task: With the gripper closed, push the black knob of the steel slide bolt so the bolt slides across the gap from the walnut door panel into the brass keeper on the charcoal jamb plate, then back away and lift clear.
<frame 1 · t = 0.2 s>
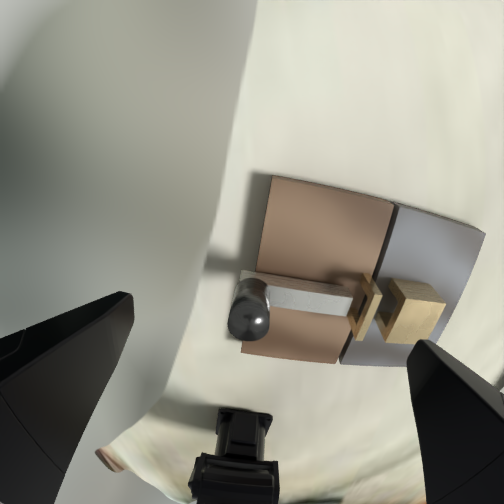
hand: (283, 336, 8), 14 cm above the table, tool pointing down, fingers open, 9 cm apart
steel bolt: (295, 308, 18), point 4 cm above the table, slide at 0.0 cm
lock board: (372, 289, 22), on the table
brass keeper: (396, 310, 20), on the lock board, point 3 cm above the table
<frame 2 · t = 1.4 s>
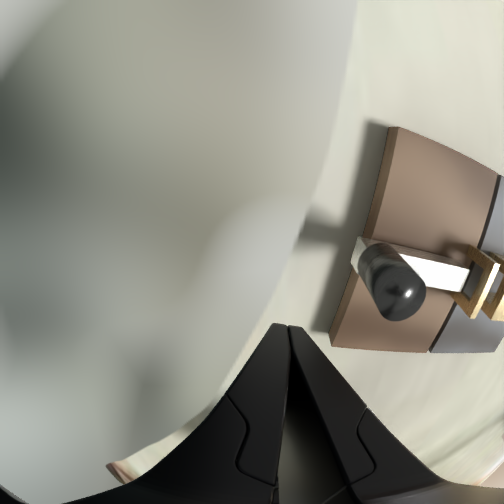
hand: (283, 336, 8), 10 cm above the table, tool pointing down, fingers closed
steel bolt: (427, 280, 13), point 4 cm above the table, slide at 0.0 cm
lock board: (467, 265, 17), on the table
brass keeper: (496, 286, 15), on the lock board, point 3 cm above the table
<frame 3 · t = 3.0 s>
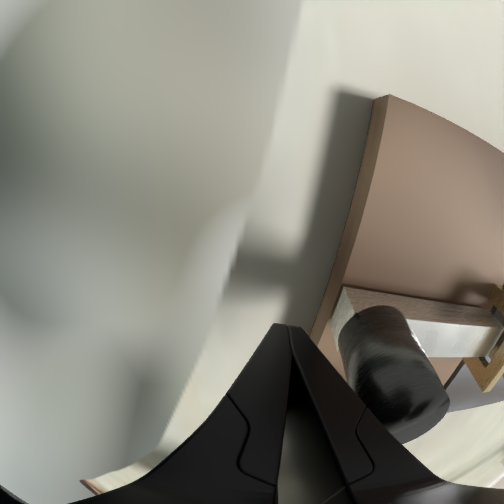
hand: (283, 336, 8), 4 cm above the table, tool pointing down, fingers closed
steel bolt: (448, 358, 7), point 4 cm above the table, slide at 1.0 cm, touching gripper
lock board: (484, 307, 12), on the table
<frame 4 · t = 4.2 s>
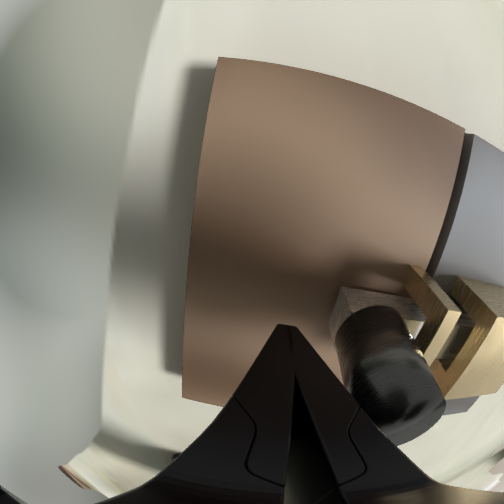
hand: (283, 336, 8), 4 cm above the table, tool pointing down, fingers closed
steel bolt: (446, 359, 7), point 4 cm above the table, slide at 6.4 cm, touching gripper
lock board: (416, 297, 11), on the table
brass keeper: (463, 338, 9), on the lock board, point 3 cm above the table
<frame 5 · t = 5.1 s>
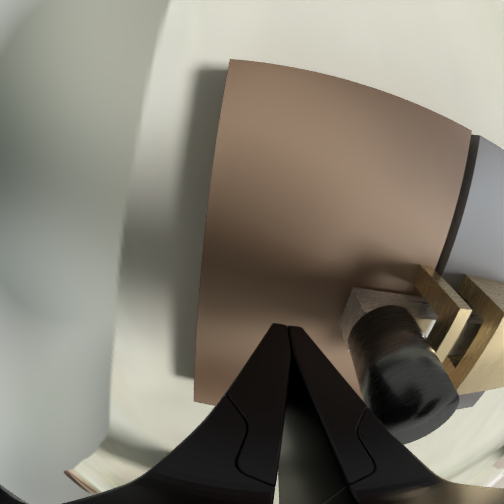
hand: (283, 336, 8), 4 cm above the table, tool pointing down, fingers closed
steel bolt: (455, 356, 7), point 4 cm above the table, slide at 6.3 cm
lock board: (424, 295, 11), on the table
brass keeper: (472, 335, 9), on the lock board, point 3 cm above the table
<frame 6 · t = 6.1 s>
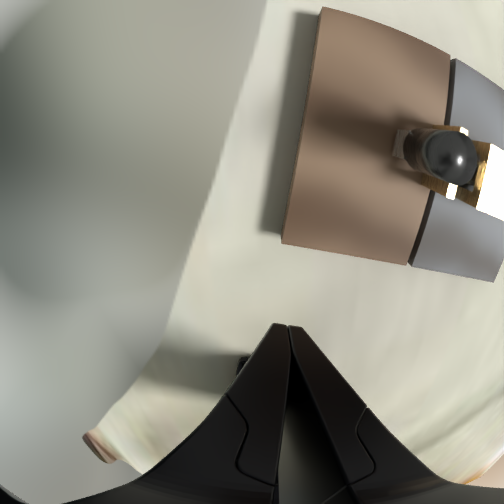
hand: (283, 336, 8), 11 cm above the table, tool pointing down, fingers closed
steel bolt: (468, 168, 12), point 4 cm above the table, slide at 6.3 cm
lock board: (440, 161, 16), on the table
brass keeper: (477, 174, 13), on the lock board, point 3 cm above the table
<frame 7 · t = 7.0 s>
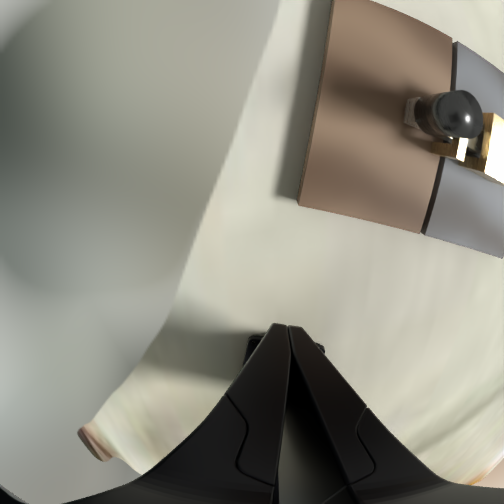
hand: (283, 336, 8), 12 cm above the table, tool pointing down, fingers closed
steel bolt: (475, 133, 11), point 4 cm above the table, slide at 6.3 cm
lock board: (446, 135, 15), on the table
brass keeper: (482, 143, 13), on the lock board, point 3 cm above the table
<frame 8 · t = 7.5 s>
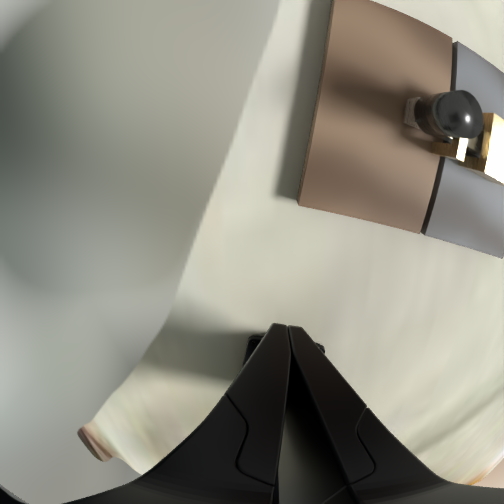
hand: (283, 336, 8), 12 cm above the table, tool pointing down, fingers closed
steel bolt: (475, 133, 11), point 4 cm above the table, slide at 6.3 cm
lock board: (446, 135, 15), on the table
brass keeper: (482, 143, 13), on the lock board, point 3 cm above the table
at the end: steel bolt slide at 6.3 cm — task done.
